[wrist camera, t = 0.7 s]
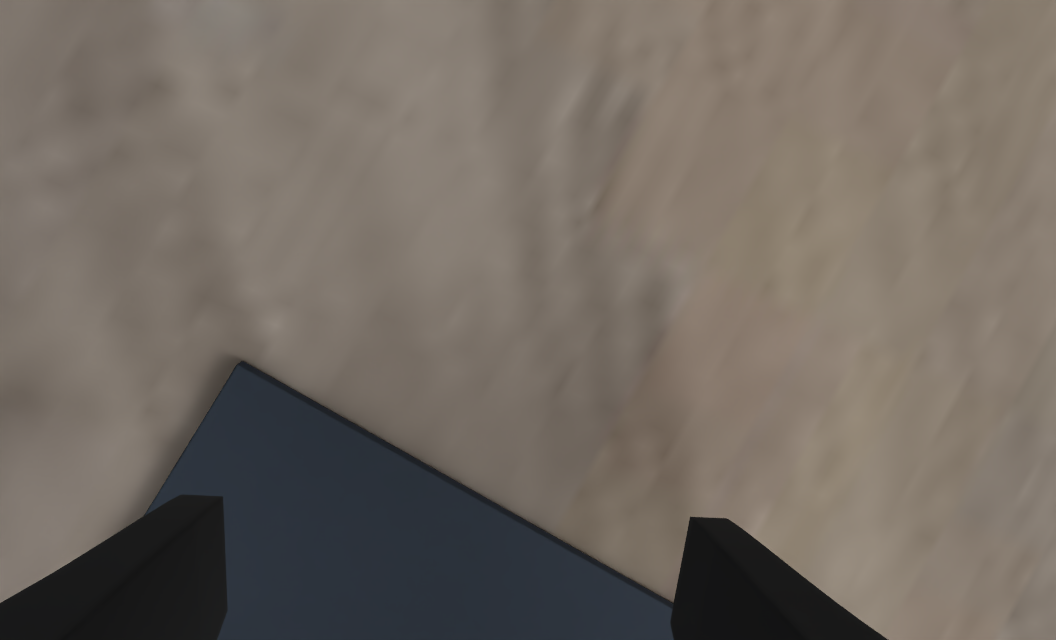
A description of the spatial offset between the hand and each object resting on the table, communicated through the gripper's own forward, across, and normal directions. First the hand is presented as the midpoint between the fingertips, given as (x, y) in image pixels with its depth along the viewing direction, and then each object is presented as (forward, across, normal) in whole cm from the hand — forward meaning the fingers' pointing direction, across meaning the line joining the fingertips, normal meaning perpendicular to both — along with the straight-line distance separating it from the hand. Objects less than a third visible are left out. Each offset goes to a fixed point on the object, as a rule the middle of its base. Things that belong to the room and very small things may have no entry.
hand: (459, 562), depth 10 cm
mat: (+9, +1, +11) cm, 14 cm away
